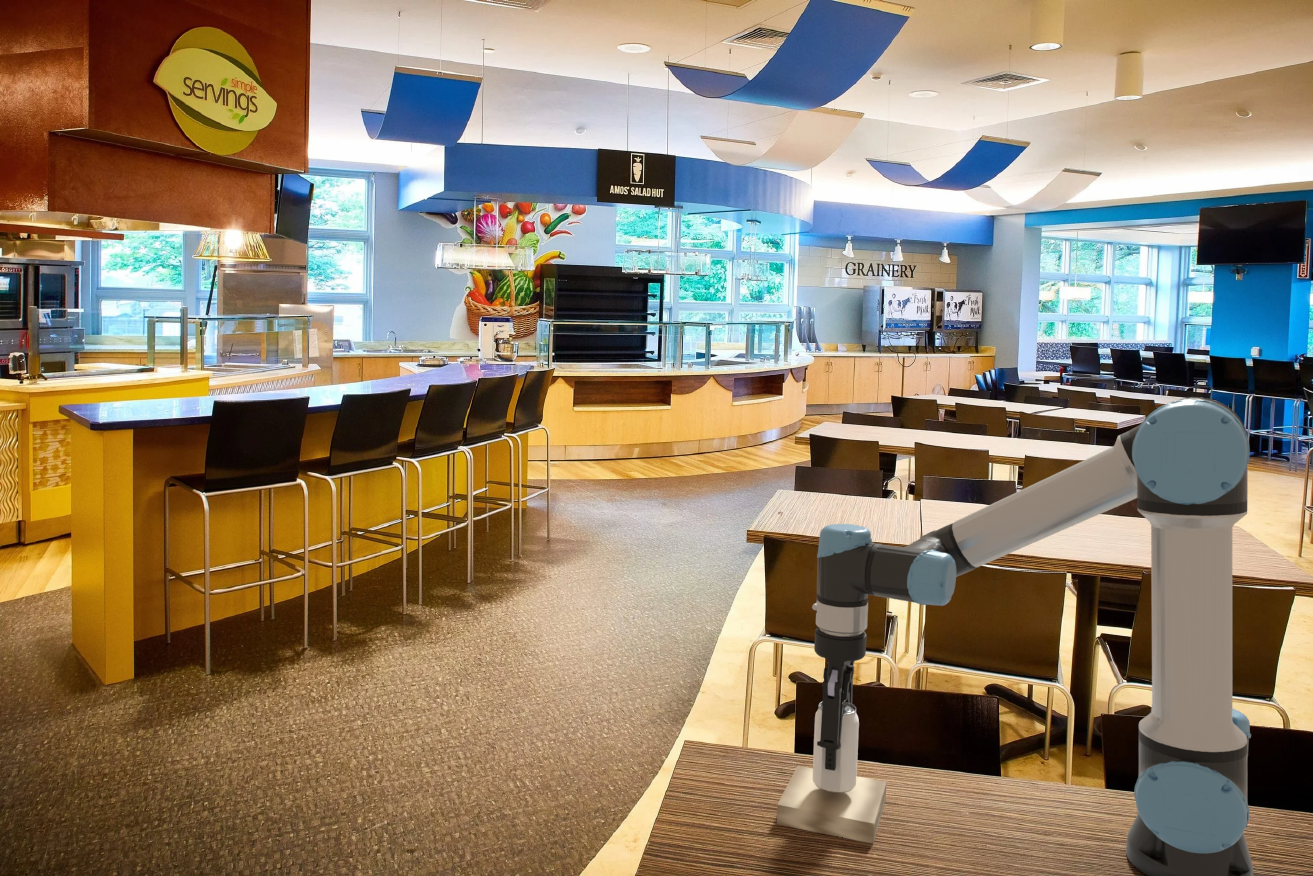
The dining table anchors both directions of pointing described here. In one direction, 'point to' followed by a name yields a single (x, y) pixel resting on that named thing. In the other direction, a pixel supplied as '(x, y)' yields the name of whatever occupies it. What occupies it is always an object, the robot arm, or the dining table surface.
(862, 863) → the dining table surface
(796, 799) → the riser
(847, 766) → the can
